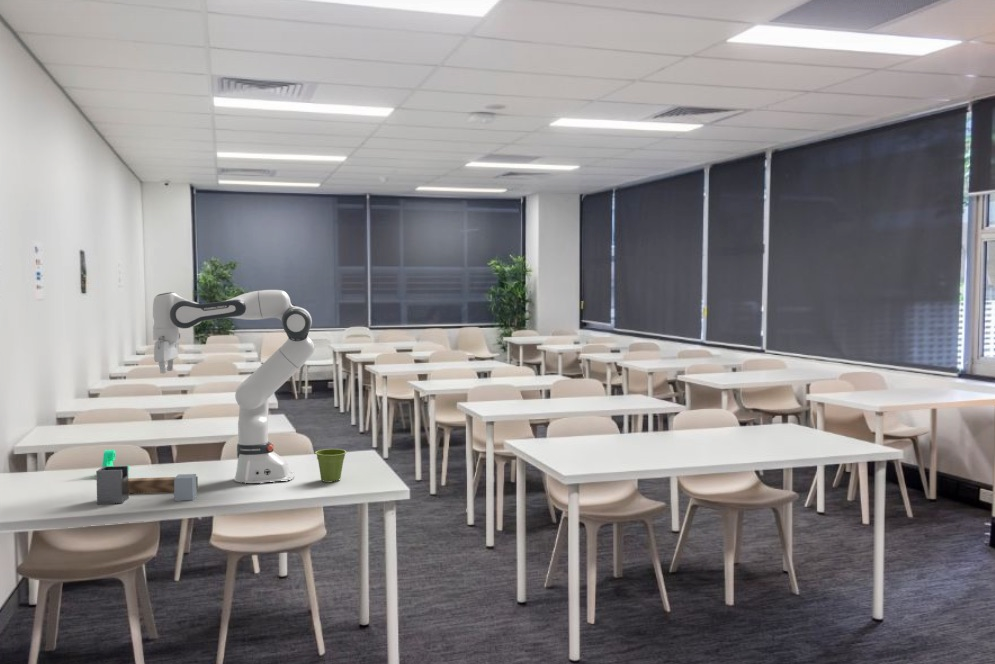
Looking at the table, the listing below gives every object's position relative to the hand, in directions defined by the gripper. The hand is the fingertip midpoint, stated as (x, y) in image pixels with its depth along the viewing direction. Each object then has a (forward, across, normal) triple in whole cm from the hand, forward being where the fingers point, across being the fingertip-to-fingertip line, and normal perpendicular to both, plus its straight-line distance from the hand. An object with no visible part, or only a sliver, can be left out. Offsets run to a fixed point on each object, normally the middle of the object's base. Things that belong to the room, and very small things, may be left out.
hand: (166, 372), depth 295 cm
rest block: (+42, -24, -12) cm, 50 cm away
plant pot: (+43, -4, -61) cm, 74 cm away
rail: (+43, -12, 0) cm, 45 cm away
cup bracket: (+42, -24, +12) cm, 50 cm away
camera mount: (+43, +18, +24) cm, 52 cm away
